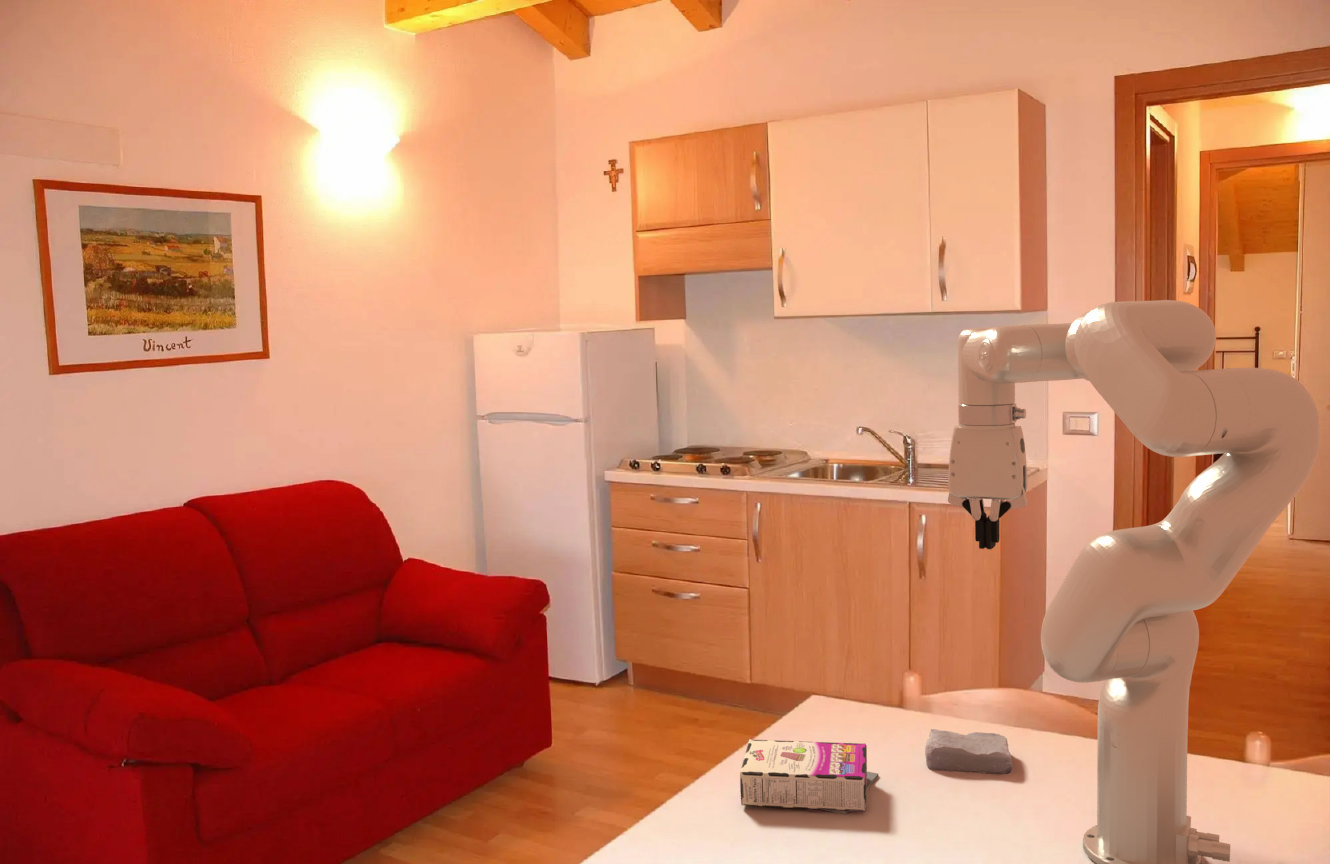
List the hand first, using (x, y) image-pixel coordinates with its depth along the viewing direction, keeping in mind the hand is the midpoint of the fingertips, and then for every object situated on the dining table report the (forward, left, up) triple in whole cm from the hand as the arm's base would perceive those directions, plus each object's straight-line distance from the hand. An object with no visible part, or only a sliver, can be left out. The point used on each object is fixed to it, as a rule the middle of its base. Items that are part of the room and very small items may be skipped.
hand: (987, 547), depth 151 cm
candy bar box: (+12, +19, -28) cm, 36 cm away
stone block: (+3, 0, -32) cm, 32 cm away
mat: (+20, +18, -31) cm, 41 cm away
